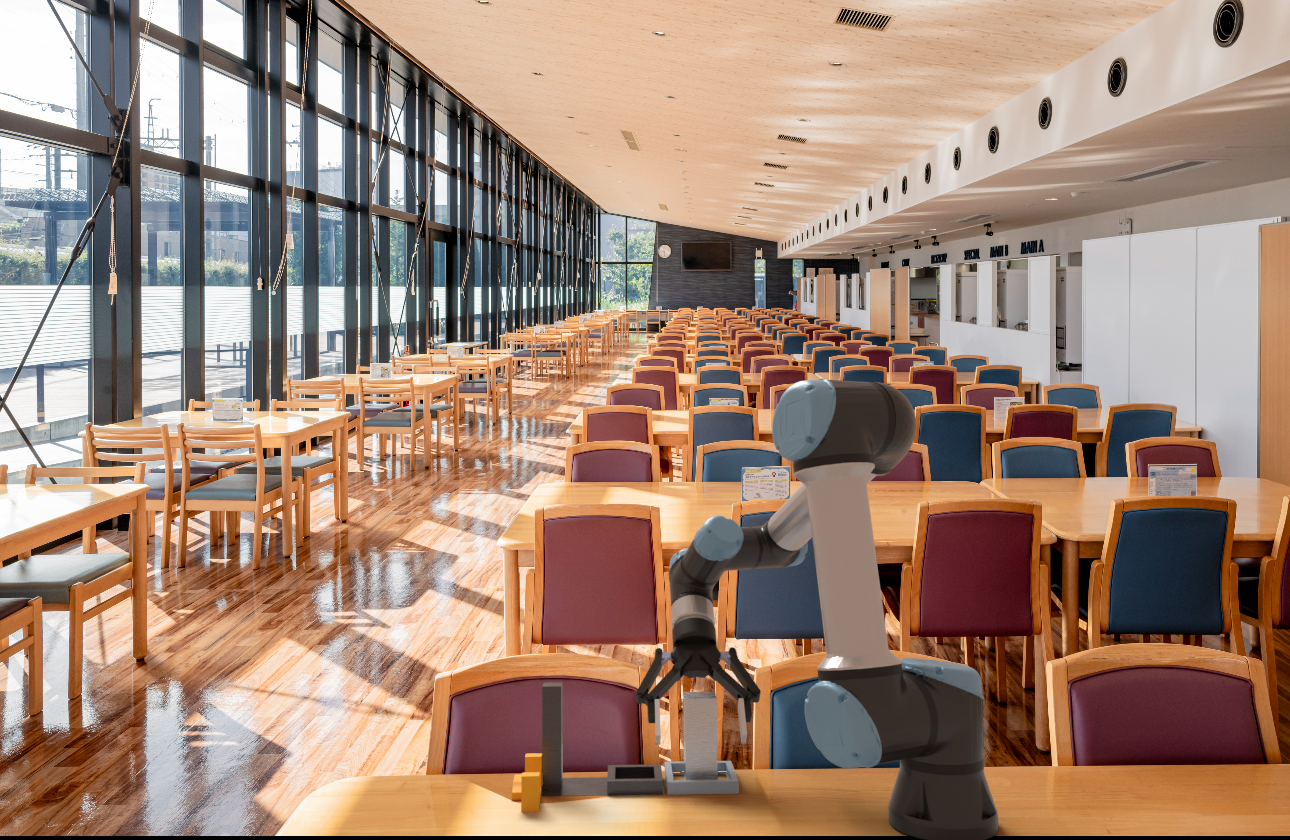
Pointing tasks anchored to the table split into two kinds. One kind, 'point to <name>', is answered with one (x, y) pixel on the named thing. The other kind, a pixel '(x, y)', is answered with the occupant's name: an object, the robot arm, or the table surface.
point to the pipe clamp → (529, 783)
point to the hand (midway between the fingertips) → (701, 739)
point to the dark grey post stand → (615, 783)
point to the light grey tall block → (700, 735)
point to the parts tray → (701, 785)
